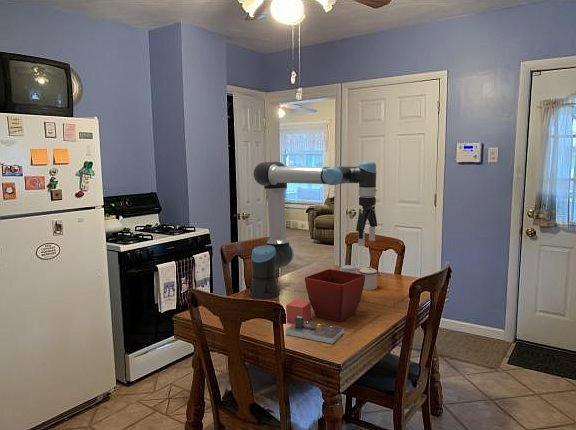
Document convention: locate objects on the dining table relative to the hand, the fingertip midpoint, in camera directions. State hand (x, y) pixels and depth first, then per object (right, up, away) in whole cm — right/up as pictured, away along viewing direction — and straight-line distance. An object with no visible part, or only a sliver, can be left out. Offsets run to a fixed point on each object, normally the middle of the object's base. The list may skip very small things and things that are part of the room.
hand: (366, 243), depth 196 cm
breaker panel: (-26, -32, -33) cm, 53 cm away
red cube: (-31, -30, -19) cm, 48 cm away
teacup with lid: (+4, -25, +25) cm, 35 cm away
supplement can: (-7, -27, +9) cm, 29 cm away
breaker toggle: (-31, -30, -32) cm, 54 cm away
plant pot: (-16, -30, -13) cm, 36 cm away
